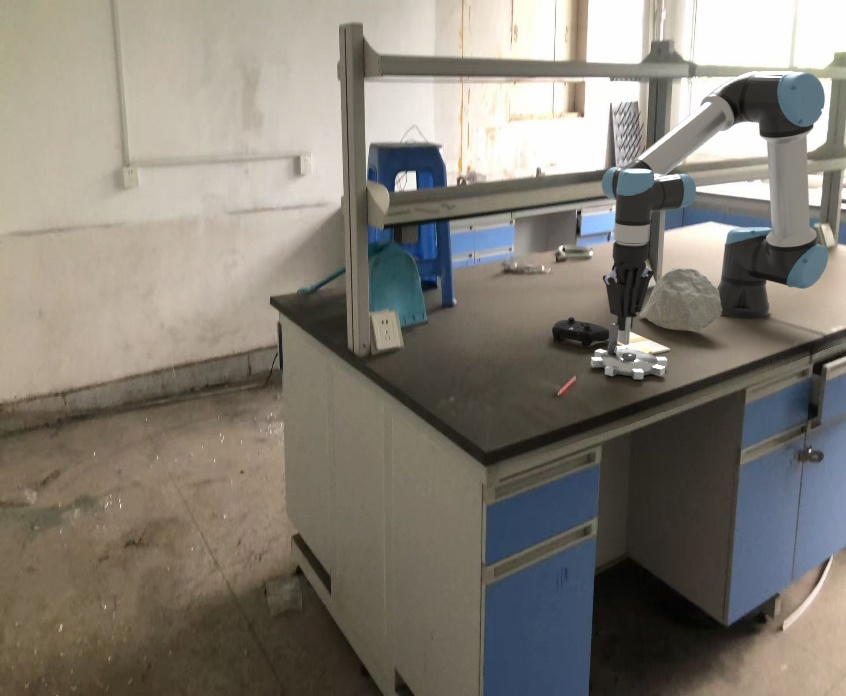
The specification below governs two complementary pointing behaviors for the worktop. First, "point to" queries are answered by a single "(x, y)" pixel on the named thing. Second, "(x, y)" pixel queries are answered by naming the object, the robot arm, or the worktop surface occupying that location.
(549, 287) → the worktop surface
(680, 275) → the grey rock
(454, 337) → the worktop surface
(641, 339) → the marked pad
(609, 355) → the sprocket
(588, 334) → the gaming controller
